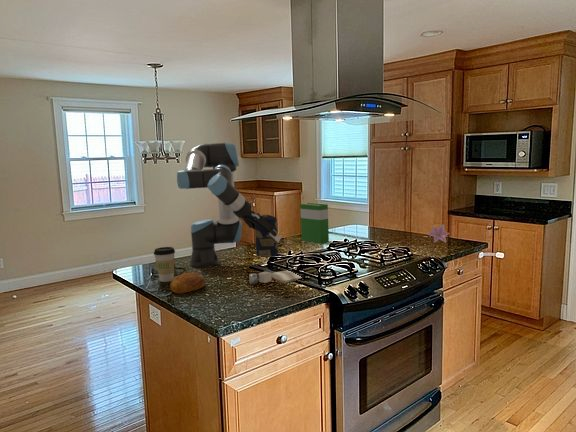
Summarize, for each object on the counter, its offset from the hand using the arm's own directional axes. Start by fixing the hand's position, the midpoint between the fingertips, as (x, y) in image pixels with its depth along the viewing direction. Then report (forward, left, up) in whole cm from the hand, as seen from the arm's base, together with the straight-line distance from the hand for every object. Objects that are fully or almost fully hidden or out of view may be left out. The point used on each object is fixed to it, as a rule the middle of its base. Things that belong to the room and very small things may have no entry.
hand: (272, 238), depth 194 cm
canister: (-3, 0, -8) cm, 8 cm away
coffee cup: (-38, +37, -21) cm, 57 cm away
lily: (+124, +22, -21) cm, 127 cm away
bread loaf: (-34, +18, -21) cm, 44 cm away
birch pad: (+11, +7, -21) cm, 24 cm away
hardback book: (+66, +72, -21) cm, 100 cm away
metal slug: (-7, +7, -21) cm, 23 cm away
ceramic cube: (-1, +7, -21) cm, 22 cm away
